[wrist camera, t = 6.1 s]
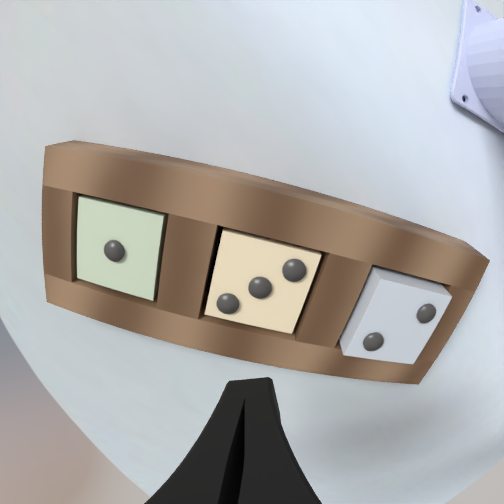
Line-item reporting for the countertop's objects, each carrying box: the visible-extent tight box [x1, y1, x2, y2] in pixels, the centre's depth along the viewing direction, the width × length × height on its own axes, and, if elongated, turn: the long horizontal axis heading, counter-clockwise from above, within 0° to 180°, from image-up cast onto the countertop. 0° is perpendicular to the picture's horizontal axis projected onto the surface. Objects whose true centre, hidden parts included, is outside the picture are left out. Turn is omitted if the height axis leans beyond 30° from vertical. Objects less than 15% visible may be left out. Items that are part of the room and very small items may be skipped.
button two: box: [339, 264, 452, 364], centre depth 17 cm, size 5×5×3 cm
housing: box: [42, 141, 490, 384], centre depth 18 cm, size 26×10×3 cm, turn 76°
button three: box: [205, 227, 321, 334], centre depth 18 cm, size 5×5×3 cm
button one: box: [77, 194, 169, 301], centre depth 17 cm, size 5×5×3 cm
